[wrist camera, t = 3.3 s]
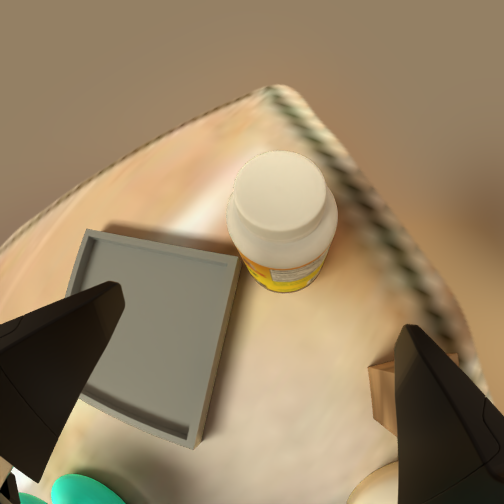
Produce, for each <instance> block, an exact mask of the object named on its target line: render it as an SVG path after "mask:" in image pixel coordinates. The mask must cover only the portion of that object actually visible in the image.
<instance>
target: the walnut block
mask: <svg viewBox="0 0 504 504" xmlns="http://www.w3.org/2000/svg"><path fill="white" fill-rule="evenodd" d="M446 354H447V355H448V356H449V357H450V358H451V359H452V360H453V361H454V362H455V363H456V365H457V366H458V367H459V360H458V353H446ZM368 372H369V380H370V389H371V398H372V408H373V418H374V419H375V420H376V421H378V422H379V423H380V424H381V425H383V426H384V427H385V428H386V429H388V430H389V431H390V432H391V433H393V434H394V435H395V436H396V437H397V421H396V407H395V394H394V360H393V361H390V362H386V363H382V364H378V365H374V366H371V367H368Z"/></svg>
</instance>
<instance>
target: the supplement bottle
mask: <svg viewBox="0 0 504 504" xmlns="http://www.w3.org/2000/svg"><path fill="white" fill-rule="evenodd" d="M226 222H227V228H228V231H229V234H230V236H231V239H232V241H233V243H234V244H235V246H236V248H237V250H238V252H239V254H240V256H241V257H242V259H243V261H244V263H245V264H246V266H247V268H248V270H249V272H250V273H251V275H252V277H253V278H254V279H255V280H256V281H257V282H258V283H259V284H260V285H261V286H262V287H264V288H265V289H267V290H270V291H272V292H276V293H293V292H297V291H299V290H302V289H304V288H305V287H307V286H308V285H310V284H311V283H312V282H313V281H314V280H315V278H316V277H317V276H318V274H319V272H320V270H321V268H322V265H323V263H324V260H325V258H326V256H327V253H328V250H329V248H330V245H331V242H332V240H333V237H334V235H335V232H336V228H337V222H338V210H337V205H336V201H335V198H334V196H333V194H332V192H331V190H330V189H329V187H328V186H327V185H326V182H325V178H324V176H323V174H322V172H321V171H320V169H319V168H318V167H317V165H316V164H314V163H313V162H312V161H311V160H310V159H308V158H307V157H305V156H303V155H300V154H298V153H295V152H291V151H283V150H279V151H270V152H266V153H263V154H260V155H258V156H256V157H254V158H252V159H251V160H249V161H248V162H247V163H246V164H245V165H244V166H243V167H242V168H241V169H240V171H239V173H238V174H237V177H236V179H235V182H234V187H233V192H232V194H231V196H230V199H229V202H228V205H227V211H226Z"/></svg>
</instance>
